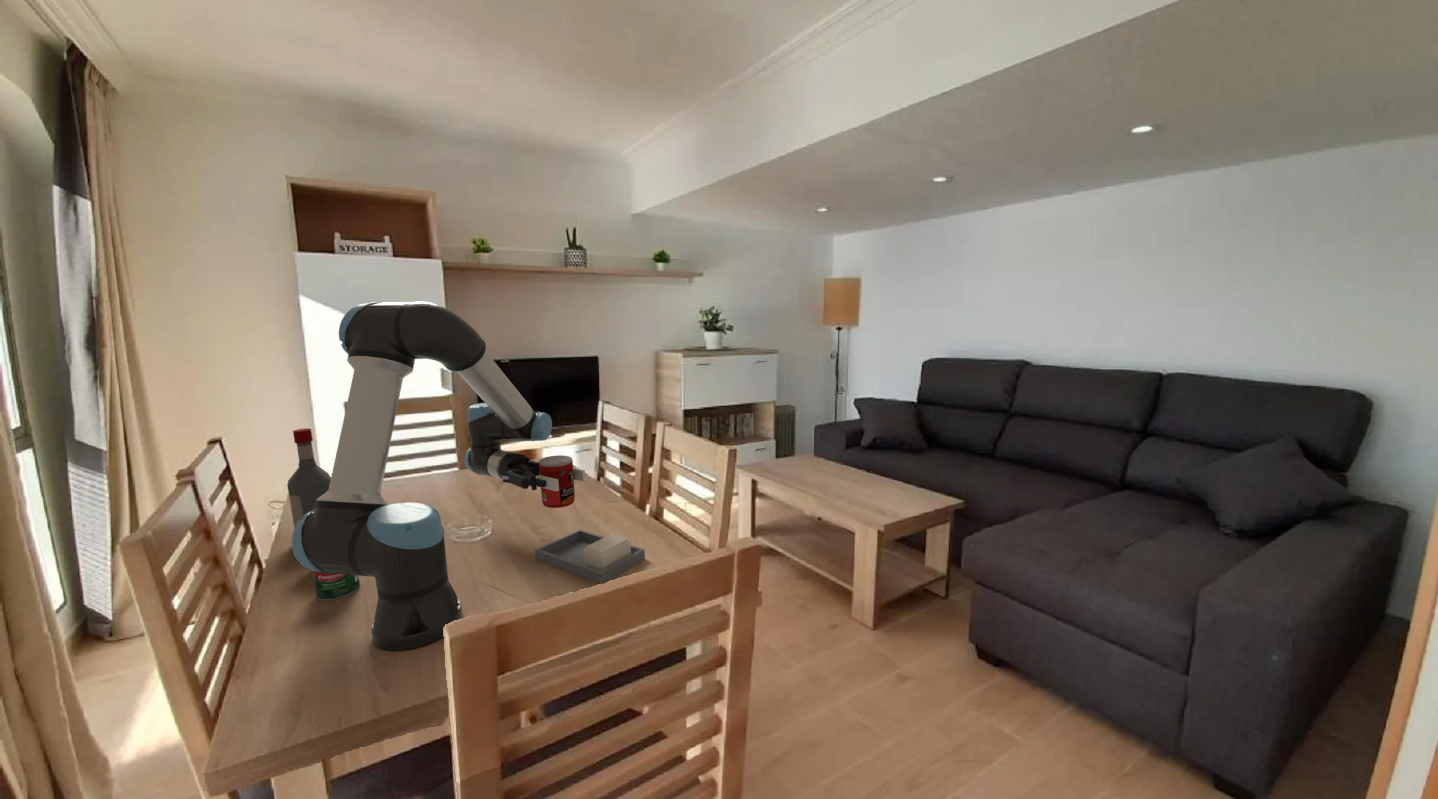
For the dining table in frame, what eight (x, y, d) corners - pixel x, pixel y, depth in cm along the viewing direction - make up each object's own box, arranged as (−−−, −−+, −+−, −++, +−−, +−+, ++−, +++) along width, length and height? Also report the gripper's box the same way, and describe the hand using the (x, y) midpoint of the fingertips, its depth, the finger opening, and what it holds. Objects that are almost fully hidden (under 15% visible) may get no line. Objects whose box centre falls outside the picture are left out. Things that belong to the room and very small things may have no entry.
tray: (645, 561, 129) (644, 549, 129) (601, 586, 118) (600, 574, 117) (580, 540, 141) (580, 529, 141) (536, 561, 130) (535, 549, 129)
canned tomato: (324, 605, 113) (316, 555, 111) (310, 593, 117) (302, 545, 115) (366, 588, 119) (360, 541, 117) (352, 578, 124) (345, 532, 122)
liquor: (299, 552, 137) (280, 436, 132) (296, 540, 144) (278, 430, 139) (342, 541, 143) (326, 429, 138) (337, 531, 150) (321, 424, 145)
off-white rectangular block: (631, 560, 128) (630, 538, 127) (603, 577, 121) (602, 553, 120) (612, 554, 132) (611, 532, 131) (584, 570, 124) (583, 547, 123)
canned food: (566, 509, 130) (563, 464, 128) (535, 507, 131) (532, 463, 129) (580, 498, 137) (577, 455, 135) (551, 496, 139) (548, 454, 137)
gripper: (542, 470, 152) (602, 483, 140) (475, 491, 135) (537, 509, 123) (540, 443, 150) (601, 454, 138) (472, 462, 133) (534, 476, 121)
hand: (570, 480), depth 130 cm, fingers closed on canned food, 8 cm apart
